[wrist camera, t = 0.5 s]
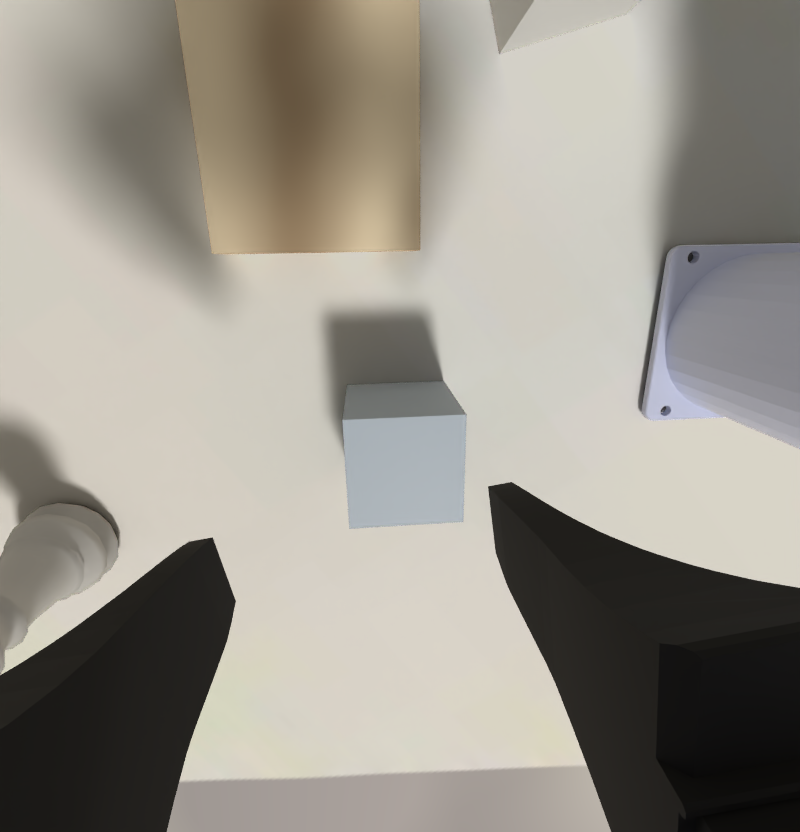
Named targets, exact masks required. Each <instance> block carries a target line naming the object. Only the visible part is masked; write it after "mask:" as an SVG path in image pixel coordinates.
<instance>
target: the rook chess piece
mask: <svg viewBox="0 0 800 832" xmlns="http://www.w3.org/2000/svg"><path fill="white" fill-rule="evenodd" d="M117 558H118V540H117V537H116V535H115V533H114V531H113V529H112V527H111V524H110V523H109V522H108V521H107V520H106V519H105V518H104V517H102V516H101V515H100V514H99V513H98V512H96V511H93V510H91V509H89V508H87V507H85V506H80V505H72V504H64V503H56V504H51V505H46V506H41V507H39V508H38V509H36V510H35V511H34V512H32V513H31V514H29V515H28V516H27V517H26V519H25V520H24V521H23V522H22V523H20V524H19V525H17V526H16V527H15V528H14V529H13V530H12V532H11V533H10V535H9V537H8V539H7V541H6V543H5V545H4V551H3V553H2V555H1V557H0V674H1V672H2V670H3V668H4V667H5V650H8V649H12V648H14V647H15V646H17V645H18V644H20V643H21V642H23V640H24V638H25V636H26V634H27V632H28V629H27V628H28V627H29V626H30V625H31V624H32V623H33V622H34V621H35V619H37V618H38V617H39V616H40V615H41V614H43V613H44V612H45V611H46V610H47V609H49V608H50V607H51V606H52V605H53V604H55V603H56V602H57V601H59V600H64V599H67V598H69V597H70V596H72V595H75V594H79V593H81V592H83V591H85V590H86V589H88V588H89V587H91V586H92V585H94V584H95V583H97V582H98V581H100V579H101V577H102V575H103V574H105V573H106V572H108V571H109V570H111V568H112V566H113V565H114V563H115V561H116V559H117Z"/></svg>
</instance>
